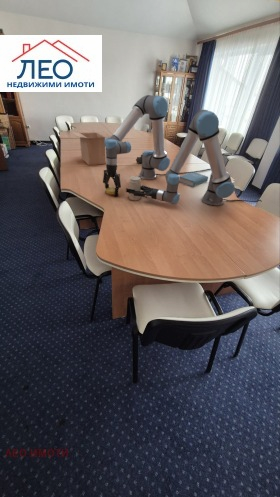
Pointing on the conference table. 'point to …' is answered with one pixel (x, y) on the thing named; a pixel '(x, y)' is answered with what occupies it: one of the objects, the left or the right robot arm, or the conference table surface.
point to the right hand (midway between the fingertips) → (129, 188)
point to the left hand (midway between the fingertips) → (111, 194)
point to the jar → (134, 187)
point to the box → (92, 146)
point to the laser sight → (139, 159)
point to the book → (193, 179)
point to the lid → (110, 190)
